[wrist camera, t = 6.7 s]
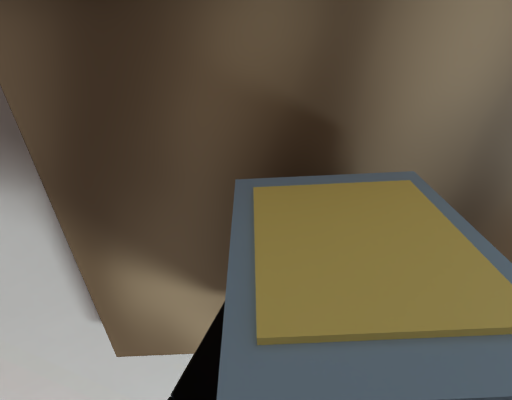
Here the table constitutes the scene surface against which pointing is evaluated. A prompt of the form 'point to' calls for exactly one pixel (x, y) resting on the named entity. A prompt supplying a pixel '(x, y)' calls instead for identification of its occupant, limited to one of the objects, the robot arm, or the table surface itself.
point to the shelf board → (243, 127)
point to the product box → (361, 294)
